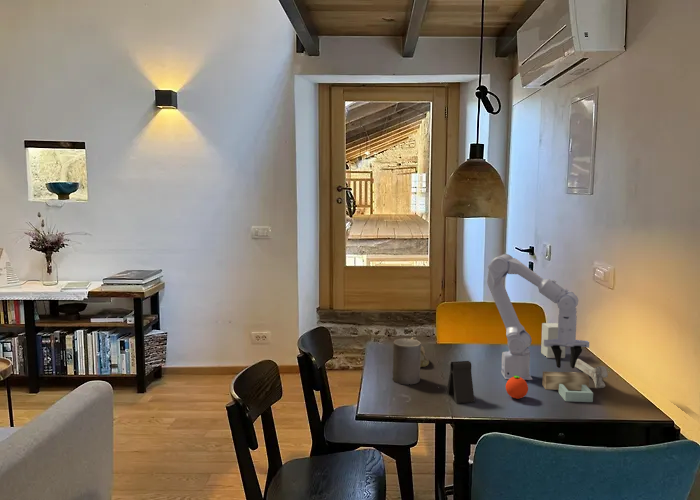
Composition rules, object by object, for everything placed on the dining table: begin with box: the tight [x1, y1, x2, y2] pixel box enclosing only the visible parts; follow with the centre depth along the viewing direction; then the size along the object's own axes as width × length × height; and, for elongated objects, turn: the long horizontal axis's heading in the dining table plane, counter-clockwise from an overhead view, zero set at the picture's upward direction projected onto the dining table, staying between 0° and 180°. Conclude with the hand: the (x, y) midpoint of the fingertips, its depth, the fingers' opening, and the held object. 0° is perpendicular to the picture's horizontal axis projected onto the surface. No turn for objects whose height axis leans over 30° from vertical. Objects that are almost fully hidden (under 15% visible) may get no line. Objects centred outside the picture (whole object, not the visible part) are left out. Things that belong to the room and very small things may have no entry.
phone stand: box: [446, 360, 476, 405], centre depth 173 cm, size 9×6×12 cm, turn 10°
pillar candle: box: [392, 337, 422, 386], centre depth 189 cm, size 10×10×15 cm
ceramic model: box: [410, 336, 430, 368], centre depth 209 cm, size 14×11×10 cm
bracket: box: [558, 384, 594, 403], centre depth 174 cm, size 8×7×3 cm
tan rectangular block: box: [541, 371, 590, 391], centre depth 182 cm, size 14×4×5 cm, turn 85°
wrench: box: [574, 358, 609, 389], centre depth 191 cm, size 8×2×30 cm
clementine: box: [505, 376, 529, 400], centre depth 174 cm, size 8×7×7 cm
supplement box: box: [540, 322, 566, 359], centre depth 217 cm, size 7×7×13 cm
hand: (565, 367), depth 185 cm, fingers open, 4 cm apart
